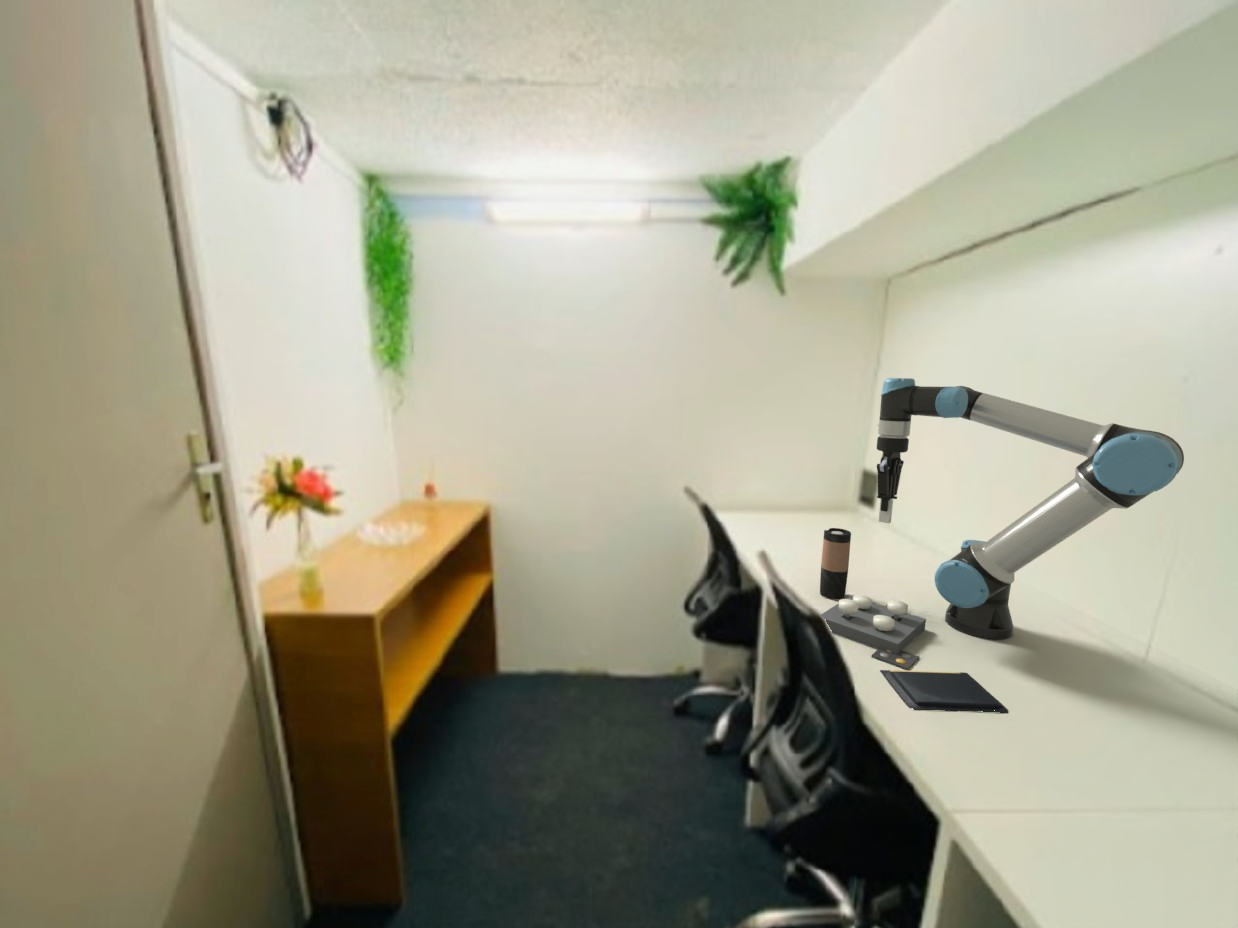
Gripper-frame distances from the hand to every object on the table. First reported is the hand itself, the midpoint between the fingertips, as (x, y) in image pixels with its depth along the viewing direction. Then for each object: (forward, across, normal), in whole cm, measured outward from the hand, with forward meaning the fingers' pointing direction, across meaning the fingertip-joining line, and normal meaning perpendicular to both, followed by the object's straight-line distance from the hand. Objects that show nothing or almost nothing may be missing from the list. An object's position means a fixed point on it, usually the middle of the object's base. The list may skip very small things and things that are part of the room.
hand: (884, 521), depth 148 cm
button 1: (+24, +6, +8) cm, 26 cm away
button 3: (+26, +7, -2) cm, 26 cm away
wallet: (+27, +29, +25) cm, 47 cm away
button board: (+26, +11, +3) cm, 29 cm away
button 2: (+26, +15, +8) cm, 31 cm away
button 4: (+24, +16, -2) cm, 29 cm away
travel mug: (+27, -3, -14) cm, 30 cm away
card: (+26, +22, +13) cm, 37 cm away
